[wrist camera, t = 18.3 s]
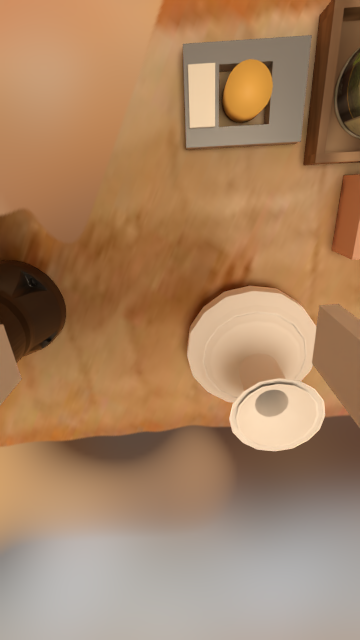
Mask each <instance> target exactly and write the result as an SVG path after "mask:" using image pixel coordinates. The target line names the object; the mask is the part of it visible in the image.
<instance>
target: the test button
mask: <svg viewBox="0 0 360 640" xmlns="http://www.w3.org/2000/svg"><path fill="white" fill-rule="evenodd" d="M272 88H273V82H272V76H271V73H270V71H269V69H268V68H267V66H266V65H265V64H263V63H262V62H260V61H258V60H254V59H249V60H245V61H243V62H241V63H239V64H238V65H237V66H236V67H235V68H234V69H233V70H232V72H231V73H230V75H229V78H228V80H227V83H226V85H225V88H224V90H223V95H222V105H223V109H224V111H225V113H226V115H227V116H228V117H229V118H230V119H231V120H233V121H235V122H239V123H244V122H248V121H250V120H252V119H253V118H254V117H255V116H256V115H257V114H258V113H259V112H260V111H261V110H262V109H263V108H264V107H265V106H266V105H267V103H268V102H269V99H270V97H271V94H272Z"/></svg>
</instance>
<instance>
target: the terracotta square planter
mask: <svg viewBox="0 0 360 640" xmlns="http://www.w3.org/2000/svg"><path fill="white" fill-rule="evenodd" d="M332 251H334V252H337V253H339V254H341V255H343V256H345V257H347V258H350V259H352V260H353V259H360V175H344V176H343V183H342V189H341V195H340V201H339V208H338V214H337V220H336V226H335V233H334V239H333V245H332Z"/></svg>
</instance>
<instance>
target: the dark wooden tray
mask: <svg viewBox="0 0 360 640" xmlns="http://www.w3.org/2000/svg"><path fill="white" fill-rule="evenodd" d="M359 47H360V0H332V1H331V2H330V3H329V5H328V6H327V7H326V8H325V10H324V11H323V12H322V13H321V15H320V18H319V28H318V37H317V46H316V55H315V64H314V73H313V83H312V92H311V101H310V110H309V119H308V128H307V138H306V147H305V156H304V165H314V164H333V163H353V162H360V139H359V138H356V137H353V136H352V135H350V134H349V133H347V132H346V131H345V130H344V129H343V128H342V126H341V125H340V123H339V121H338V119H337V116H336V112H335V105H334V97H335V88H336V85H337V81H338V78H339V76H340V73H341V71H342V69H343V67H344V66H345V64H346V62H347V61H348V59H349V58H350V57H351V55H352V54H353V53H354V52H355V51H356V50H357V49H358V48H359Z"/></svg>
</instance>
